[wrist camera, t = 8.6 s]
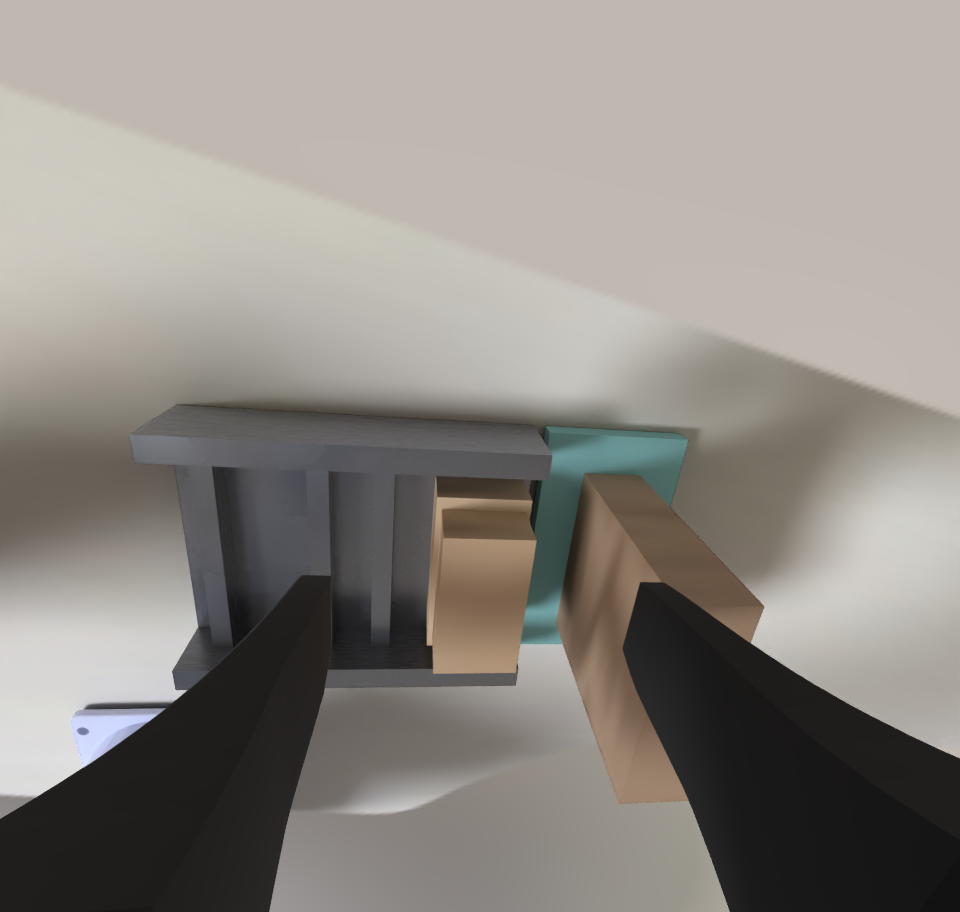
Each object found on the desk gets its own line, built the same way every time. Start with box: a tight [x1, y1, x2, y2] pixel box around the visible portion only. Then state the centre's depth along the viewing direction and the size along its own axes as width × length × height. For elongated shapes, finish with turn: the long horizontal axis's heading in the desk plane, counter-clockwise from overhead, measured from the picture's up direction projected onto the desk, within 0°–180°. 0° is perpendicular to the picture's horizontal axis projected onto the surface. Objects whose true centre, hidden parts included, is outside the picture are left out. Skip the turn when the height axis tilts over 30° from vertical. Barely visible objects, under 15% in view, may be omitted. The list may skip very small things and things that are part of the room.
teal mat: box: [520, 426, 688, 644], centre depth 23 cm, size 11×6×1 cm, turn 175°
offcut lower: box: [427, 476, 533, 645], centre depth 21 cm, size 7×4×2 cm, turn 175°
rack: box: [129, 405, 553, 690], centre depth 20 cm, size 11×14×3 cm
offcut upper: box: [432, 509, 537, 674], centre depth 19 cm, size 6×3×2 cm, turn 175°
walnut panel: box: [556, 473, 764, 804], centre depth 19 cm, size 8×2×8 cm, turn 175°
